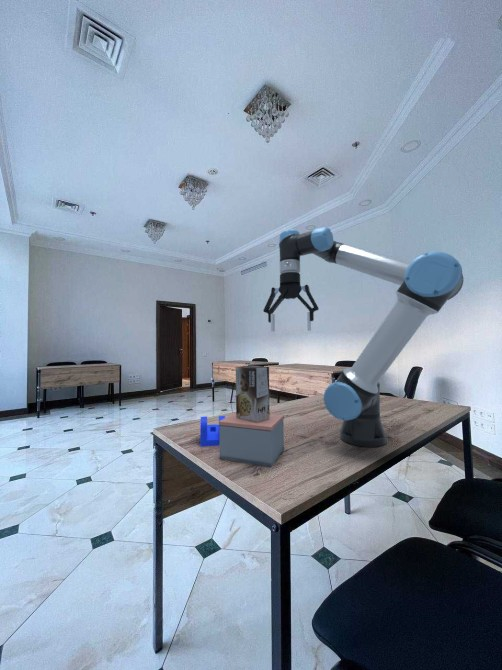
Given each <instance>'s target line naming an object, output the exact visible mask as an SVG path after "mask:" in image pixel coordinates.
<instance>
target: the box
mask: <svg viewBox="0 0 502 670" xmlns="http://www.w3.org/2000/svg"><path fill="white" fill-rule="evenodd" d="M219 431H220V445H219V459H220V460H224V461H230V462H231V461H232V462H237V463H243V464H250V465H255V466H256V465H257V466H262V467H269V468H272V467H273V466H274V464H275V462H276V460H277V459H278V458H279V457H280V455H281V453H282V452H283V451H284V450H285V449H284V448H285V447H284V445H285V442H284V441H285V440H284V435H285V433H284V419H283V420H282V421H281V422H280V423H279V424H278V425H277V426H276V427H275V428H274V429H273V430H272V431H269V430H260V429H251V428H242V427H233V426H224V425H220V426H219Z"/></svg>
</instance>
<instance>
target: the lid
mask: <svg viewBox="0 0 502 670" xmlns="http://www.w3.org/2000/svg"><path fill="white" fill-rule="evenodd" d="M284 419H285V415H284V414H275V413H274V414H273V413H270V418H269V419H267V420H263V421H260V422H253V421H249V420H245V419H240V418H236V412H234V413H232V414H230V415H228V416H225V418H224V419H223V420H221V421H219V420H218V425H224V426H233V427H242V428H251V429H260V430H269V431H272V430H273V429H274V428H275V427H276V426H277V425H278V424H279V423H280V422H281V421H282V420H283V421H284Z"/></svg>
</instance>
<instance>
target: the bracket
mask: <svg viewBox="0 0 502 670" xmlns="http://www.w3.org/2000/svg"><path fill="white" fill-rule="evenodd" d="M224 418H226V416H225V415H218V422H219V421H221V420H223V419H224ZM219 426H220V425H219V424H208V416H200V435H199V437H200V442H199V443H200V447H215V446H219V447H220V431H219Z"/></svg>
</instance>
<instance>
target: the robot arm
mask: <svg viewBox="0 0 502 670" xmlns="http://www.w3.org/2000/svg"><path fill="white" fill-rule="evenodd" d="M278 246H279V287H274V286H273V287H272V288H271V290H270V291H271V292H270V295H269V298H268V299H267V301H266V303H265V305H264V308H263V311H262V312H264V313H265V314H267V319H268V320H267V321H268V323H270V332H276V330H275V329H276V328H275V327H276V325H275V322H276V318H275V317H276V316H275V314H274V313H275V311H276V309H277V308H278V307H279V306H280V304H281V303H283V301H284V300H295V299H296V298H297V300H299V301H300V303H301V304H303V306H305V308H306V309H307V310H308V311H307V317H306V318H307V319H306V320H307V325H306V326H307V331H311V330H312V327H311V326H312V322H314V319H315V316H314V313H315V312H318V311H319V306H318V304H317V303H316V300H315V299H314V297H313V295H312V293H311V290H310V286H309V285H308V284H305V285H303V286H301V256H307V255H311V254H313V255H315V256H317V257H318V258H320V259H322V260H324V261H325V262H328V263H329V264H336V265H339V266H343V267H344V268H348V269H351V270H353V271H357V272H360V273H362V274H365V275H368V276H372V277H374V278H377V279H381V280H384V281H386V282H389V283H392V284H395V285H398V286H399V288H398V289H397V290H396V292H395V293H396V297H397V300H396V301H395V303H394V305H393V307H392V308H391V310H390V311H389V312H388V314H387V315H386V316H385V318H384V320H383V321H382V323H381V324H380V325H379V326H378V328H377V330H376V331H375V333H374V334H373V335H372V337H371V338H370V339H369V341H368V343H367V344H366V345H365V347H364V349H363V350H362V352H361V353H360V355H359V356H358V357H357V359H356V360H355V362H354V363H353V365H352V366H351V367H347V368H344V369H343V370H342V372H341V373H340V375H339V376H338V377H337V379H336V380H335V382H331V384H329V385H328V386H327V387H326V389H324V393H323V402H324V406H325V408H326V410H327V411H328V413H329V414H330V415H331V416H333V417H334V418H335V419H337V420H340V421H342V424H341V426H340V430H339V438H340V440H341V441H343V442H345V443H346V444H347V443H348V444H350V445H353V446H358V447H359V446H360V447H366V448H367V447H368V448H372V447H373V448H374V447H375V448H376V447H382V446H384V445H386V444H387V434H386V432H385V429H384V426H383V423H382V420H381V395H380V394H381V393H380V387H381V384H380V380H381V379H382V378H383V376H384V375H385V373H387V371H388V370H389V369H390V367H391V366H392V365H393V363H394V362H395V361H396V359H397V358H398V357H399V355H400V354H401V352H402V351H403V349H404V348H405V347H406V346H407V344H408V343H409V342H410V340H411V339H412V337H413V336H414V335H415V333H416V332H417V331H418V329H419V328H420V327H421V326H422V324H423V323H424V321H425V320H426V319H427V317H429V316H431V315H435V314H438V313H439V311H441V309H442V308H443V306H444V305H445V304H446V303H447V302H448V301H449V300H451V299H453V298H454V297H455V296H456V295H458V294H459V293H460V291H461V290H462V288H463V286H464V276H463V267H462V265H461V263H460V261H459V260H458V259H457V258H456V257H454V256H453V255H452V254H449V253H448V252H443V251H437V250H436V251H428V252H425V253H423V254H421V255H418V256H417V257H415V258H414V259H412V261H411V262H410V261H407V260H403V259H399V258H395V257H392V256H388V255H385V254H381V253H378V252H374V251H371V250H366V249H364V248H360V247H357V246H354V245H349V244H346V243H343V242H338V241H336V240H334V235H333V232H332V230H331V229H330V228H329V227H327V226H325V227H324V226H323V227H318V228H315V229H313V230H308V231H306V232H303V233H300V231H298V230H297V229H285V230H283V231H282V232H280V234H279V243H278ZM302 291H303V292H304V293H306V295H307V298H308V299H309V301H310V303H311V305H312V306H310V304H309V303H308V302H307V301H306V300H305V298H303V297H302V296H301V294H300V293H301V292H302ZM278 293H279V294H280V295H278V298H277V299H276V300H275V298H276V295H277V294H278ZM274 300H275V302H274V303H273V301H274Z"/></svg>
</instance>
